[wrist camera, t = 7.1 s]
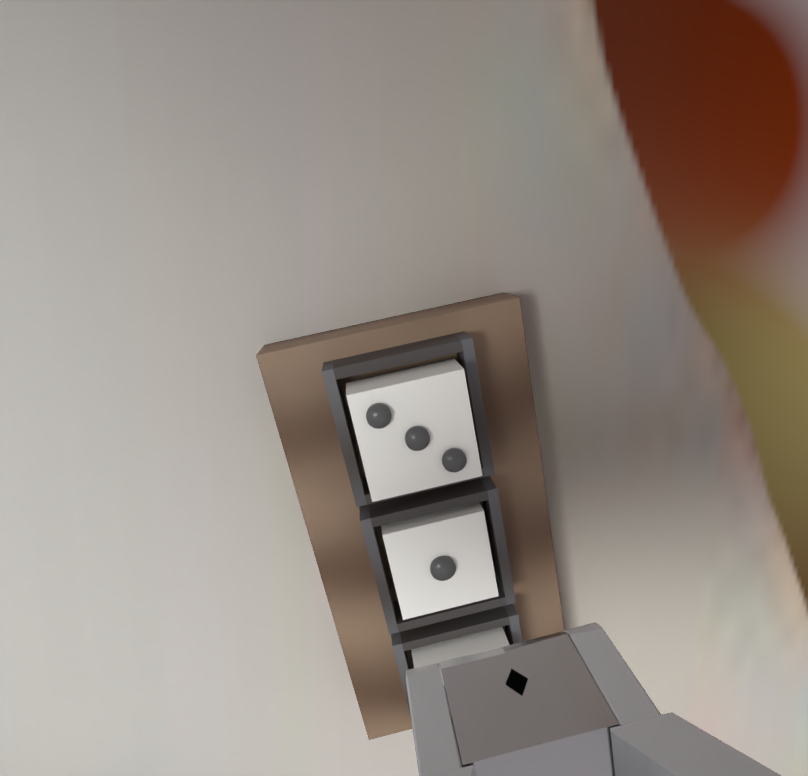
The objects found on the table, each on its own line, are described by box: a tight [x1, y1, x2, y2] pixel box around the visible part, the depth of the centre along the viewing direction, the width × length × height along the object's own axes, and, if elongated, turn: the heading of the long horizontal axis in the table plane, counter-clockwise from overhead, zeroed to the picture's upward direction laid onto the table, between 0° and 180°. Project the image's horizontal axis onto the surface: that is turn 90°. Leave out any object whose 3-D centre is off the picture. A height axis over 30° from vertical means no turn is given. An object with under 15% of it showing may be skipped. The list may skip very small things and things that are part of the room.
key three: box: [346, 359, 482, 502], centre depth 18 cm, size 4×4×2 cm
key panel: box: [256, 293, 564, 740], centre depth 22 cm, size 19×10×3 cm, turn 12°
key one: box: [381, 502, 499, 620], centre depth 21 cm, size 4×4×2 cm
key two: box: [411, 627, 509, 710], centre depth 22 cm, size 4×4×2 cm
